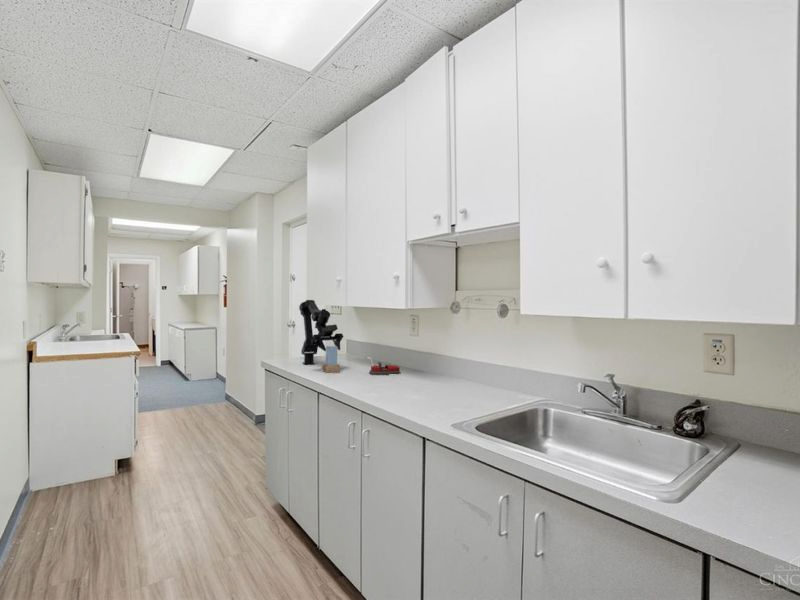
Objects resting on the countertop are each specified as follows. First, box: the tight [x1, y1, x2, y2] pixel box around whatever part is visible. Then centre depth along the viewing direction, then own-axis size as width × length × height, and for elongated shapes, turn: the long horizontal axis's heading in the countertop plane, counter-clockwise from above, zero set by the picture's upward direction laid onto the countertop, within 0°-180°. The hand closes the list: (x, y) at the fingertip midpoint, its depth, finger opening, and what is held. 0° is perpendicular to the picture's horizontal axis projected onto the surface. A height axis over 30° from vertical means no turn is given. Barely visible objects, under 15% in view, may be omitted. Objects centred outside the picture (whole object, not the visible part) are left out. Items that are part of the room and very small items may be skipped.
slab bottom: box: [322, 368, 340, 374], centre depth 236 cm, size 7×7×2 cm
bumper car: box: [364, 356, 401, 376], centre depth 236 cm, size 10×20×10 cm, turn 107°
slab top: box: [321, 363, 340, 370], centre depth 236 cm, size 7×7×2 cm
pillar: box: [325, 345, 338, 365], centre depth 236 cm, size 4×4×10 cm
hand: (332, 350), depth 234 cm, fingers open, 9 cm apart
